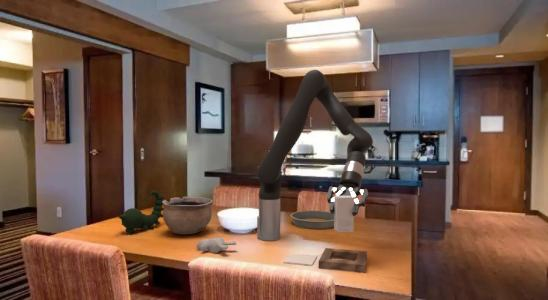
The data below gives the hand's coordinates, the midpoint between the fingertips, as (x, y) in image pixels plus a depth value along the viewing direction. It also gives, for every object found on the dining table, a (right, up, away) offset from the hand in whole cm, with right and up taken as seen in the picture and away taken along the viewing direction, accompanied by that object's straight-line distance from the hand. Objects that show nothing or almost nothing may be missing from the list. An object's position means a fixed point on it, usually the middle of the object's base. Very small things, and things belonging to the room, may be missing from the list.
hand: (342, 213), depth 130 cm
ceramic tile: (-14, -17, +5) cm, 23 cm away
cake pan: (-3, -16, +60) cm, 62 cm away
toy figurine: (-85, -16, +47) cm, 98 cm away
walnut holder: (+1, -18, +2) cm, 18 cm away
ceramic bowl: (-63, -16, +42) cm, 77 cm away
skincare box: (+1, -6, +2) cm, 7 cm away
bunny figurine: (-46, -17, +15) cm, 52 cm away
